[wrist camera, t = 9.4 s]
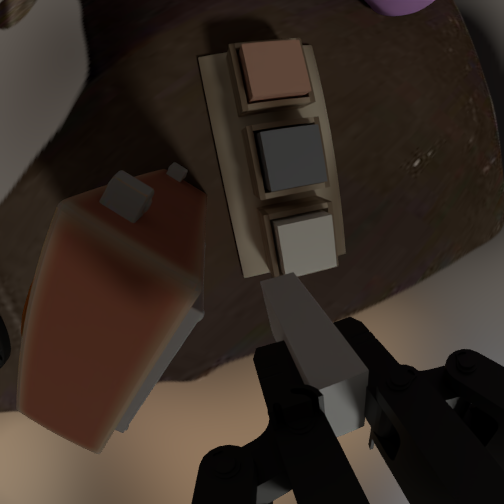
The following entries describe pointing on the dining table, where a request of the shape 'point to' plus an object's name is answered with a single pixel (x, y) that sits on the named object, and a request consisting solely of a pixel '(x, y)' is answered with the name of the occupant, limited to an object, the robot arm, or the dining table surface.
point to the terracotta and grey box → (111, 303)
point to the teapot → (397, 6)
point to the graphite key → (290, 157)
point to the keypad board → (247, 163)
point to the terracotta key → (273, 71)
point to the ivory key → (304, 242)
